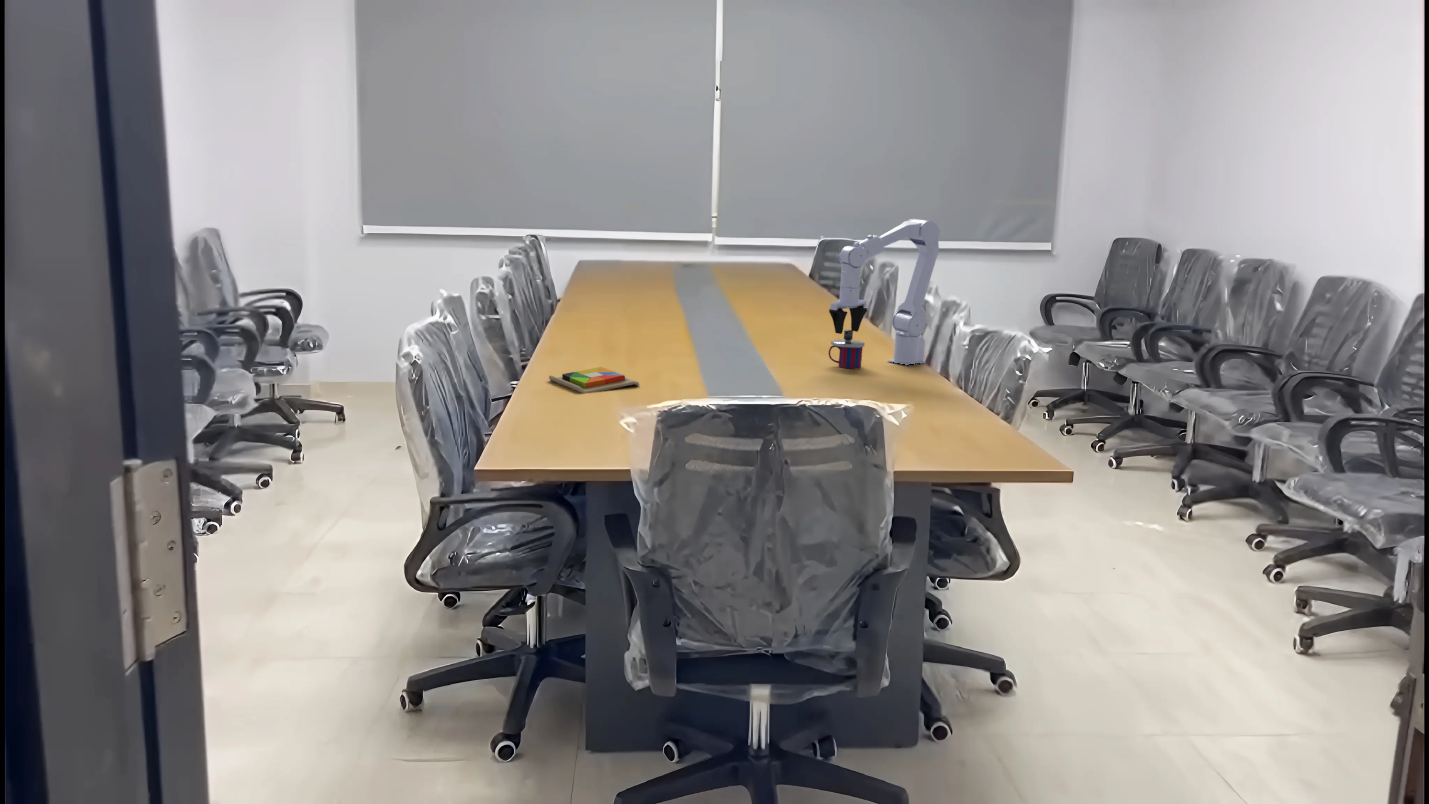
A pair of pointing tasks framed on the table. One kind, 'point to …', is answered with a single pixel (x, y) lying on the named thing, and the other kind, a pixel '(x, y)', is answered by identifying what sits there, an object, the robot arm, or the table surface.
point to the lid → (848, 341)
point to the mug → (848, 357)
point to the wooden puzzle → (593, 380)
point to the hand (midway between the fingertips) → (846, 332)
